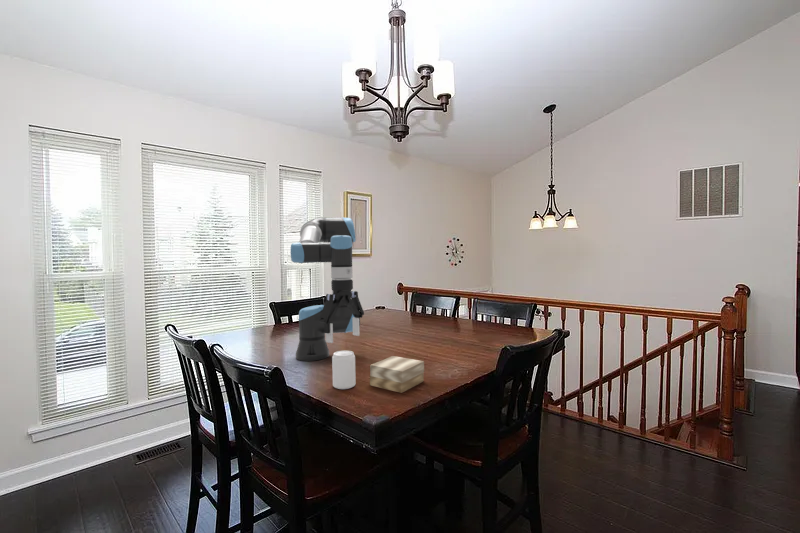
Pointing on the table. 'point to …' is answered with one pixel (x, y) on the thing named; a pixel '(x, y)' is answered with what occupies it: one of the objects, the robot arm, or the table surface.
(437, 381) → the table surface
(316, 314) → the robot arm
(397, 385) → the bottom slab
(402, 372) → the top slab
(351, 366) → the beverage can
